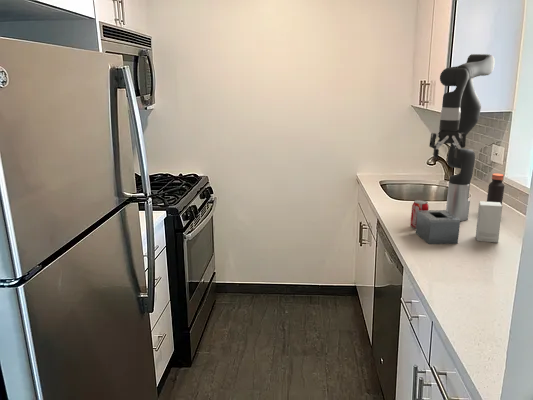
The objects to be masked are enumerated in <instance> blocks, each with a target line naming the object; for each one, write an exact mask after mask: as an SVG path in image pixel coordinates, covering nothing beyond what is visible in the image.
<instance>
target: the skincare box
mask: <svg viewBox="0 0 533 400" xmlns="http://www.w3.org/2000/svg"><path fill="white" fill-rule="evenodd" d="M477 211H478V212H477V221H476V229H475V239H476V241H477V242H486V243H487V242H488V243H499V239H500V231H501V222H502V221H501V220H502V212H503V204H502V205H501V203H500V202H487V201H484V200H480V201H478V209H477Z"/></svg>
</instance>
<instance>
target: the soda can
mask: <svg viewBox="0 0 533 400" xmlns="http://www.w3.org/2000/svg"><path fill="white" fill-rule="evenodd" d="M429 208H430V206H429V204H428V201H427V200H422V199H416V200H415V199H414V201H413V203H412V204H411V214H410V227H412V228H413V229H415V230H416V222H417V211H418V210H429Z"/></svg>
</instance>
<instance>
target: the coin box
mask: <svg viewBox="0 0 533 400" xmlns="http://www.w3.org/2000/svg"><path fill="white" fill-rule="evenodd" d="M460 225H461V221H460V219H458V218H457V217H455V216H454V215H452V214H450V213H449V212H447V211H446V209H436V210H435V209H434V210H432V209H431V210H418V211H417V222H416V229H415V234H416V235H417V236H419V237H420V238H421V239H422V240H423V241H424V242H426V244H428V245H447V244H448V245H449V244H451V245H453V244H455V245H457V244H459V243H458V242H459V235H460V228H461V227H460Z"/></svg>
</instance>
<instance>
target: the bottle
mask: <svg viewBox="0 0 533 400" xmlns="http://www.w3.org/2000/svg"><path fill="white" fill-rule="evenodd" d="M503 181H504V174H502V173H492V174H491V182H489V184H488V187H487V189H488V190H487V195H486V202H500V203H501V205H502V206H503V199H504V191H505V184H504V183H503Z"/></svg>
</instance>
